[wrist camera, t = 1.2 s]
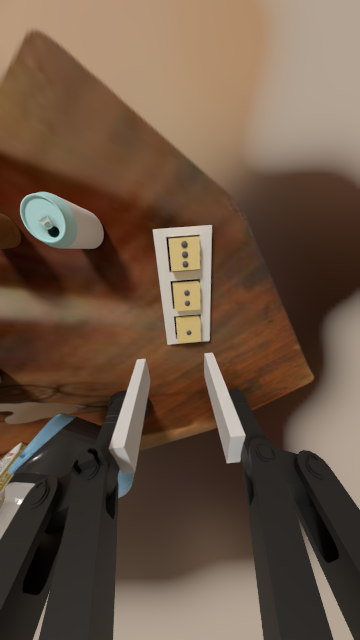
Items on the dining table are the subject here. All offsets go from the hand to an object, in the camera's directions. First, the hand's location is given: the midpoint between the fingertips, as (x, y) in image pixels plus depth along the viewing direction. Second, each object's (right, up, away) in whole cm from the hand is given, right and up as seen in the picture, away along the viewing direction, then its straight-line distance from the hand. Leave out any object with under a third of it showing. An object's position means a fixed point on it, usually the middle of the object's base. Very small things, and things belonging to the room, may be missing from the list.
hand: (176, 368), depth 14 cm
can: (-19, +24, +18) cm, 35 cm away
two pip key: (+2, +11, +23) cm, 25 cm away
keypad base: (+2, +12, +24) cm, 27 cm away
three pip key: (+1, +19, +19) cm, 27 cm away
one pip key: (+3, +3, +26) cm, 27 cm away
